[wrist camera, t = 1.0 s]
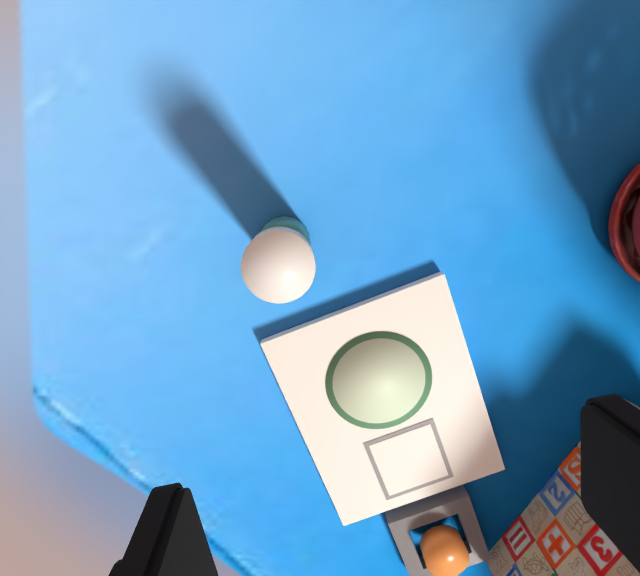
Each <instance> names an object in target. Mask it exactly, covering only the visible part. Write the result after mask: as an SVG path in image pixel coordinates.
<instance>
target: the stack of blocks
mask: <svg viewBox="0 0 640 576" xmlns="http://www.w3.org/2000/svg"><path fill="white" fill-rule="evenodd" d="M626 401H627V400H626ZM628 402H629V401H628ZM629 403H631V402H629ZM631 404H632V405H634V406H635V407H637V408H638V409H640V407H638V406H636V405H635V404H633V403H631ZM489 555H490V557H491V559H490V560H487V561H486V563H487V565H488V567H489V569H490V571H491V573H492V575H493V576H640V573H639V572H638V571H637V570H636V569H635V567H634V566H633V565H632V564H631V563H630V562H629V561H628V559H627V558H626V557H625V556H624V555H623V554H622V553H621V551H620V550H619V549H618V548H617V547H616V546H615V545H614V543H613V542H612V541H611V540H610V539H609V538H608V537H607V535H606V534H605V533H604V532H603V531H602V530H601V529H600V528H599V526H598V525H597V524H596V523H595V522H594V521H593V520H592V518H591V517H590V516H589V515H588V514H587V512H586V510H585V509H584V507H583V504H582V501H581V440H580V442H579V443H578V445H577V446H576V447H575V448H574V449H573V450H572V451H571V453H570V454H569V455H568V456H567V457H566V459H565V460H564V461H563V462H562V463H561V465H560V466H559V467H558V470H557V471H556V472H555V473H554V474H553V475H552V477H551V478H550V479H549V480H548V481H547V483H546V484H545V485H544V486H543V488H542V489H541V490H540V491H539V493H538V494H537V495H536V496H535V498H534V499H533V500H532V501H531V503H530V504H529V505H528V506H527V507H526V509H525V510H524V511H523V512H522V514H521V515H519V516H518V518H517V519H516V520H515V521H514V522H513V524H512V525H511V526H510V527H509V528H508V530H507V531H506V532H505V533H504V535H503V536H502V537H501V538H500V539H499V540H498V542H497V543H496V544H495V545H494V546H493V548H492V549H491V550H490V551H489Z"/></svg>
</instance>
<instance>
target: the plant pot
mask: <svg viewBox="0 0 640 576" xmlns="http://www.w3.org/2000/svg"><path fill="white" fill-rule="evenodd" d="M608 231H609V240H610V245H611V248H612V251H613V253H614V255H615V257H616V259H617V261H618V262H619V264H620V265H621V266H622V268H623V269H624V270H625V271H626V272H627V273H628V274H629V275H630V276H631V277H633V278H634V279H636V280H637V281H639V282H640V163H639V164H638V165H637V166H636V167H635V168H634V169H633V170H632V171H631V172H630V173H629V175H628V176H627V177H626V178H625V180H624V182H623V183H622V185H621V186H620V188H619V189H618V191H617V194H616V196H615V198H614V201H613V203H612V207H611V210H610V215H609V225H608Z"/></svg>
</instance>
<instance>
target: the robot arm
mask: <svg viewBox="0 0 640 576" xmlns="http://www.w3.org/2000/svg"><path fill="white" fill-rule="evenodd" d="M581 501H582V504H583V507H584V509H585V510H586V512H587V514H588V515H589V516H590V517H591V518H592V520H593V521H594V522H595V523H596V524H597V525H598V526H599V528H600V529H601V530H602V531H603V532H604V533H605V534H606V535H607V537H608V538H609V539H610V540H611V541H612V542H613V543H614V545H615V546H616V547H617V548H618V549H619V550H620V551H621V553H622V554H623V555H624V556H625V557H626V558H627V559H628V561H629V562H630V563H631V564H632V565H633V566H634V567H635V569H636V570H637V571H638V572H639V573H640V409H638V408H637V407H635V406H634V405H632V404H631V403H629V402H628V401H626V400H625V399H623V398H622V397H620V396H618V395H616V394H609V395H604V396H599V397H594V398H590V399H588V400H587V402H586V405H585V406H584V407H582V409H581ZM109 576H218V573H217V570H216V567H215V564H214V561H213V557H212V554H211V551H210V548H209V545H208V542H207V539H206V536H205V533H204V530H203V527H202V523H201V520H200V517H199V514H198V511H197V508H196V505H195V502H194V499H193V496H192V493H191V490H190V489H189V488H183V487H182V485H181V484H180V483H174V484H169V485H164V486H159V487H155V488H153V489H152V491H151V493H150V495H149V497H148V500H147V502H146V505H145V507H144V509H143V512H142V514H141V516H140V519H139V521H138V524H137V526H136V528H135V531H134V533H133V535H132V538H131V540H130V543H129V545H128V547H127V550H126V552H125V554H124V557H123V559H122V560H119V561H118V562H116V563H115V564H114V566H113V568H112V570H111V572H110V574H109Z"/></svg>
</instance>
